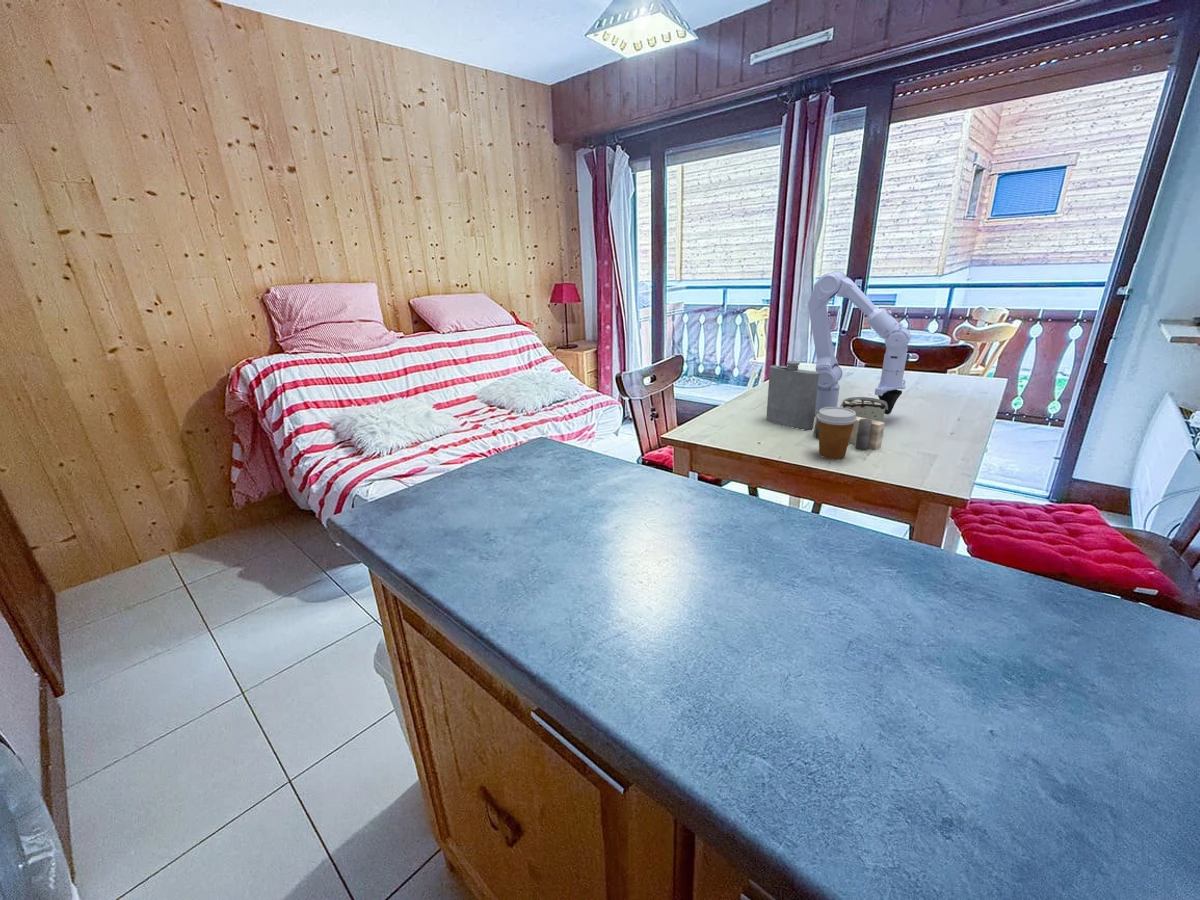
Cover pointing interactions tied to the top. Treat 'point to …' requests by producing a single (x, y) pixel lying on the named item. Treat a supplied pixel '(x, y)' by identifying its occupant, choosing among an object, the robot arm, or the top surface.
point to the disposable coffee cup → (835, 431)
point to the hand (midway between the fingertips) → (885, 413)
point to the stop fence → (862, 433)
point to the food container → (866, 407)
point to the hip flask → (792, 396)
